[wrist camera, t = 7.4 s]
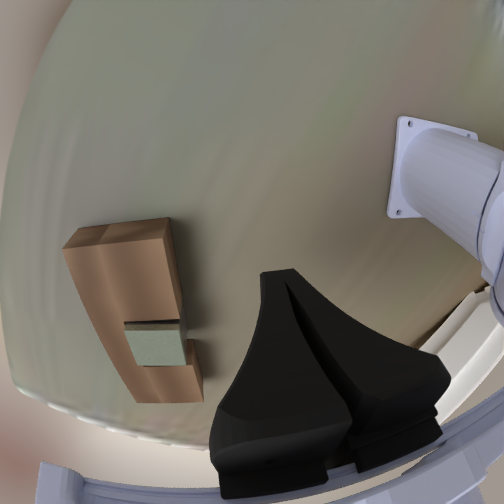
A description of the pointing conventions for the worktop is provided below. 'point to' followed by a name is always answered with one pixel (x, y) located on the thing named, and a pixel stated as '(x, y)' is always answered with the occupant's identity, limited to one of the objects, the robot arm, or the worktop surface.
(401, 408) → the robot arm
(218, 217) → the worktop surface
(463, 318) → the shelf bracket
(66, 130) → the worktop surface
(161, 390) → the brown u-shaped block
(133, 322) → the sage green cube
